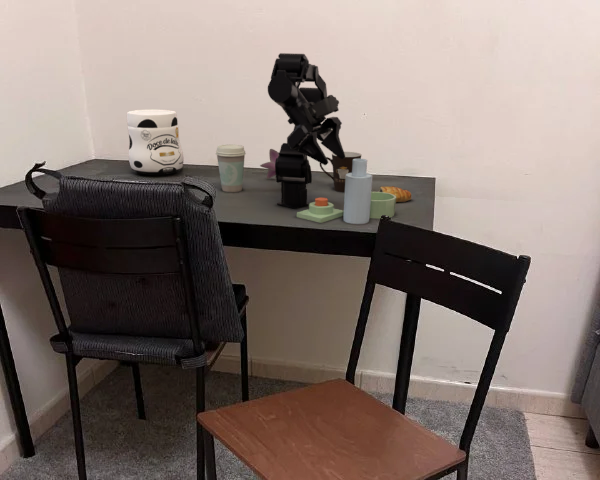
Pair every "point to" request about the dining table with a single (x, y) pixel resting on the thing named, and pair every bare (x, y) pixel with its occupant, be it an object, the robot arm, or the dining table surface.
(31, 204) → the dining table surface
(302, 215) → the panel
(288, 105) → the robot arm
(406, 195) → the pastry
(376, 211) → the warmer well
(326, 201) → the button
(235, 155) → the coffee cup
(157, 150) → the doce de leite jar
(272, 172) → the lily
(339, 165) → the coffee mug
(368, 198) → the bottle
